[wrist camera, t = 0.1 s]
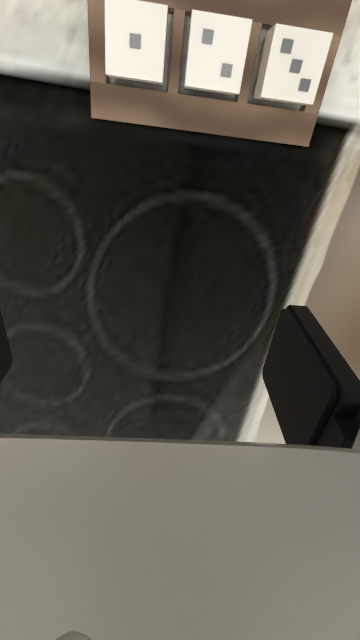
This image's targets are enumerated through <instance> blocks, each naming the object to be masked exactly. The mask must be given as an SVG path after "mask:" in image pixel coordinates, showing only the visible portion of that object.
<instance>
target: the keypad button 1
mask: <svg viewBox="0 0 360 640" xmlns="http://www.w3.org/2000/svg"><path fill="white" fill-rule="evenodd" d="M167 21H168V5H163V4H157V3H151V2H145V1H139V0H105V74H106V75H108V76H109V77H112V78H118V79H125V80H132V81H139V82H146V83H153V84H160V85H163V79H164V64H165V50H166V35H167Z"/></svg>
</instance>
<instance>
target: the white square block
mask: <svg viewBox="0 0 360 640" xmlns="http://www.w3.org/2000/svg"><path fill="white" fill-rule="evenodd" d="M332 37H333V33H330V32H324V31H318V30H313V29H307V28H301V27H295V26H289V25H283V24H277V23H276V24H275V25H274V26H272V27H271V28H270V29H269V30H268V31H267V33H266V38H265V43H264V48H263V53H262V58H261V63H260V68H259V73H258V78H257V83H256V88H255V93H254V98H256V99H263V100H270V101H277V102H283V103H290V104H297V105H313V103H314V100H315V96H316V93H317V89H318V86H319V82H320V79H321V75H322V72H323V68H324V65H325V61H326V58H327V54H328V51H329V47H330V44H331V40H332Z"/></svg>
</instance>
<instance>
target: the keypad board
mask: <svg viewBox="0 0 360 640" xmlns="http://www.w3.org/2000/svg"><path fill="white" fill-rule="evenodd" d="M139 1H145V2H151V3H157V4H163V5H168V12H170V13H174V17H173V30H172V43H171V56H170V69H169V82H168V92H163V91H156V90H149V89H142V88H135V87H128V86H121V85H114V84H108V75H106V74H105V0H88V28H89V59H90V90H91V118H97V119H104V120H112V121H119V122H127V123H134V124H142V125H149V126H157V127H164V128H172V129H179V130H186V131H194V132H201V133H209V134H216V135H224V136H231V137H239V138H246V139H254V140H261V141H269V142H276V143H284V144H291V145H298V146H306V147H308V146H309V143H310V140H311V136H312V133H313V130H314V126H315V123H316V120H317V116H318V113H319V109H320V106H321V103H322V99H323V96H324V93H325V89H326V86H327V83H328V79H329V76H330V73H331V69H332V66H333V63H334V59H335V56H336V52H337V49H338V46H339V42H340V39H341V36H342V32H343V29H344V26H345V22H346V19H347V16H348V12H349V9H350V6H351V2H352V0H139ZM192 9H193V10H199V11H205V12H211V13H217V14H223V15H229V16H235V17H241V18H247V19H253V20H252V25H251V31H250V37H249V42H248V48H247V54H246V59H245V65H244V70H243V76H242V82H241V87H240V93H239V94H237V95H236V98H235V102H233V101H226V100H219V99H212V98H205V97H198V96H191V95H184V94H178V86H179V75H180V64H181V53H182V42H183V31H184V20H185V15H188V16H191V13H192ZM276 23H277V24H283V25H289V26H295V27H301V28H307V29H313V30H318V31H324V32H330V33H333V37H332V40H331V44H330V47H329V51H328V54H327V58H326V61H325V65H324V68H323V72H322V75H321V79H320V82H319V86H318V89H317V93H316V96H315V100H314V103H313V105H301V107H300V111H295V110H288V109H281V108H274V107H268V106H261V105H254V104H247V101H248V96H249V90H250V85H251V80H252V75H253V69H254V64H255V59H256V54H257V49H258V43H259V38H260V33H261V28H267V29H270V28H271V27H272V26H274V25H275V24H276Z"/></svg>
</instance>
